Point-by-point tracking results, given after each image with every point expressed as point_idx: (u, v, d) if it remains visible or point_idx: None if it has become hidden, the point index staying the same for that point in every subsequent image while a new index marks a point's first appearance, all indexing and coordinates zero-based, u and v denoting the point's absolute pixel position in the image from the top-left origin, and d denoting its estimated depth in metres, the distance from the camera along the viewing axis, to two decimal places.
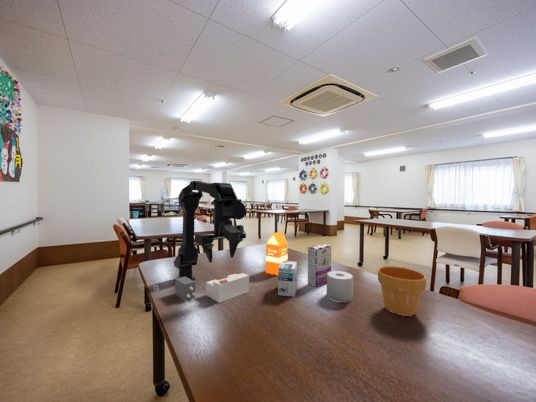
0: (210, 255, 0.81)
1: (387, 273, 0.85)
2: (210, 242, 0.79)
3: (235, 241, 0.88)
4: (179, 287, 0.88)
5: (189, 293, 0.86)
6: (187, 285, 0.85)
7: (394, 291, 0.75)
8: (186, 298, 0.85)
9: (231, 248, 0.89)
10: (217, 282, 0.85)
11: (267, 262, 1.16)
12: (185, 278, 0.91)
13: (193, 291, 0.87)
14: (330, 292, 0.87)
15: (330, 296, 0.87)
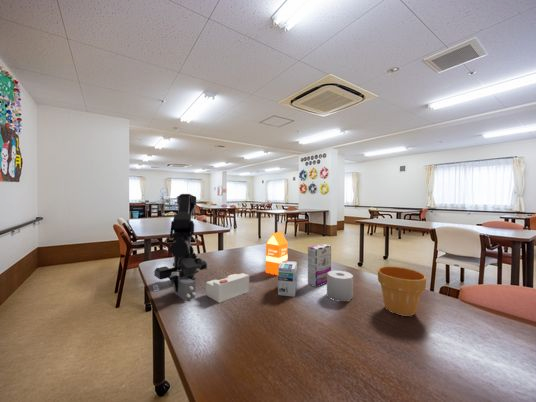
0: (175, 286, 0.88)
1: (387, 273, 0.85)
2: (168, 276, 0.84)
3: (190, 273, 0.91)
4: (179, 287, 0.88)
5: (189, 293, 0.86)
6: (187, 285, 0.85)
7: (394, 291, 0.75)
8: (186, 298, 0.85)
9: None
10: (217, 282, 0.85)
11: (267, 262, 1.16)
12: (185, 277, 0.91)
13: (193, 291, 0.87)
14: (330, 291, 0.88)
15: (330, 295, 0.88)
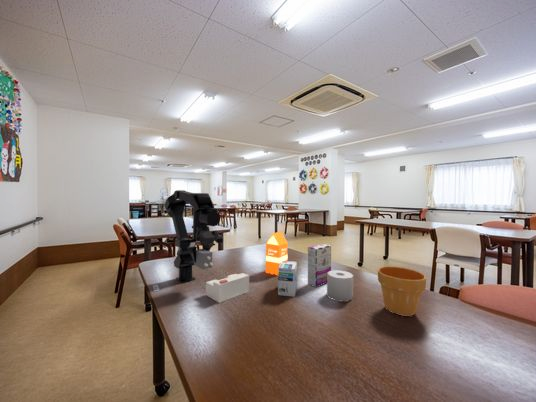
0: (194, 256, 0.94)
1: (387, 273, 0.85)
2: (187, 246, 0.89)
3: (207, 245, 0.97)
4: (197, 257, 0.93)
5: (206, 262, 0.91)
6: (205, 255, 0.91)
7: (394, 291, 0.75)
8: (204, 267, 0.91)
9: None
10: (217, 282, 0.85)
11: (267, 262, 1.16)
12: (202, 249, 0.96)
13: (210, 261, 0.92)
14: (330, 291, 0.88)
15: (330, 295, 0.88)
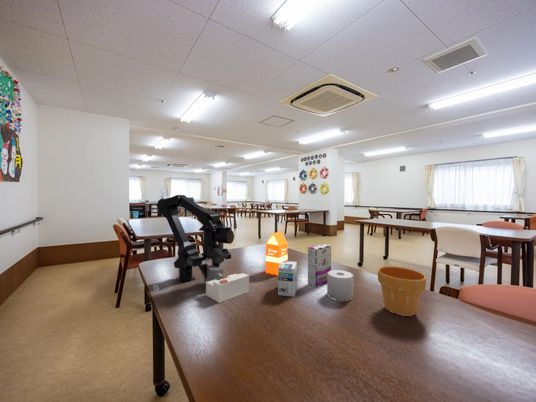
0: (205, 273, 0.98)
1: (387, 273, 0.85)
2: (199, 264, 0.94)
3: (217, 262, 1.01)
4: (208, 274, 0.98)
5: (218, 279, 0.96)
6: (216, 272, 0.95)
7: (394, 291, 0.75)
8: None
9: None
10: (217, 282, 0.85)
11: (267, 262, 1.16)
12: (212, 266, 1.01)
13: (221, 277, 0.97)
14: (331, 291, 0.88)
15: (331, 295, 0.88)
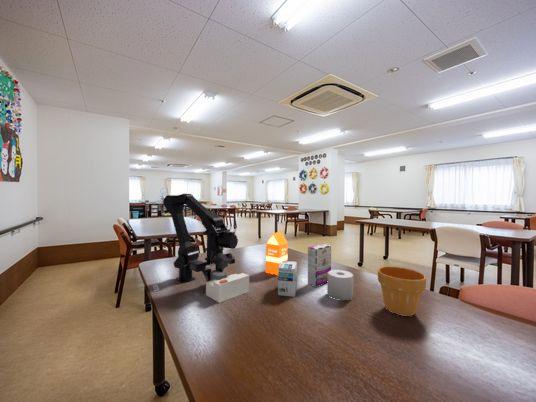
0: (208, 278, 0.96)
1: (387, 273, 0.85)
2: (203, 269, 0.92)
3: None
4: (212, 279, 0.96)
5: None
6: (220, 277, 0.93)
7: (394, 291, 0.75)
8: None
9: None
10: (217, 282, 0.85)
11: (267, 262, 1.16)
12: (216, 271, 0.99)
13: None
14: (331, 290, 0.89)
15: (331, 294, 0.89)
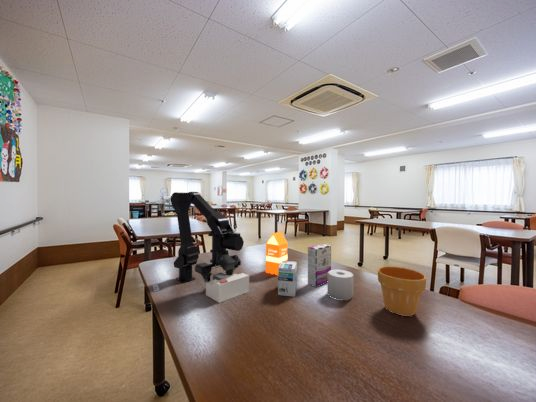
0: None
1: (387, 273, 0.85)
2: (208, 272, 0.89)
3: None
4: None
5: None
6: None
7: (394, 291, 0.75)
8: None
9: (227, 274, 0.99)
10: (217, 282, 0.85)
11: (267, 262, 1.16)
12: (221, 274, 0.96)
13: None
14: (331, 290, 0.89)
15: (331, 294, 0.89)
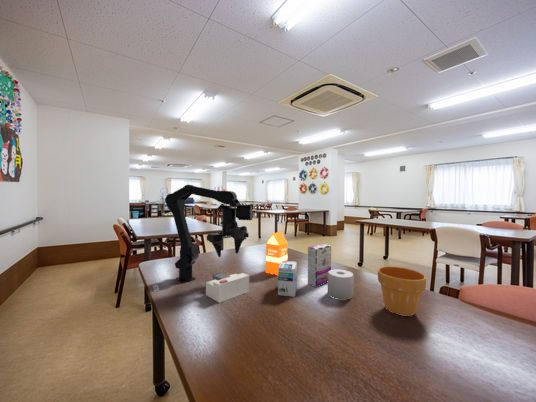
0: (219, 251, 0.98)
1: (387, 273, 0.85)
2: (219, 240, 0.96)
3: (239, 239, 1.05)
4: None
5: None
6: None
7: (394, 291, 0.75)
8: None
9: (236, 246, 1.06)
10: (217, 282, 0.85)
11: (267, 262, 1.16)
12: (221, 274, 0.96)
13: None
14: (331, 290, 0.89)
15: (331, 294, 0.89)
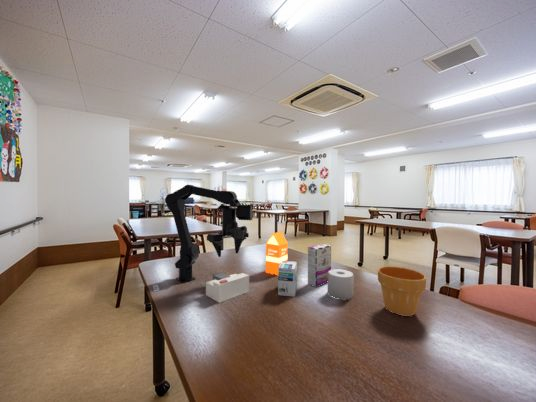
0: (219, 251, 0.98)
1: (387, 273, 0.85)
2: (219, 240, 0.96)
3: (239, 239, 1.05)
4: None
5: None
6: None
7: (394, 291, 0.75)
8: None
9: (236, 246, 1.06)
10: (217, 282, 0.85)
11: (267, 262, 1.16)
12: (221, 274, 0.96)
13: None
14: (331, 290, 0.90)
15: (331, 294, 0.90)
